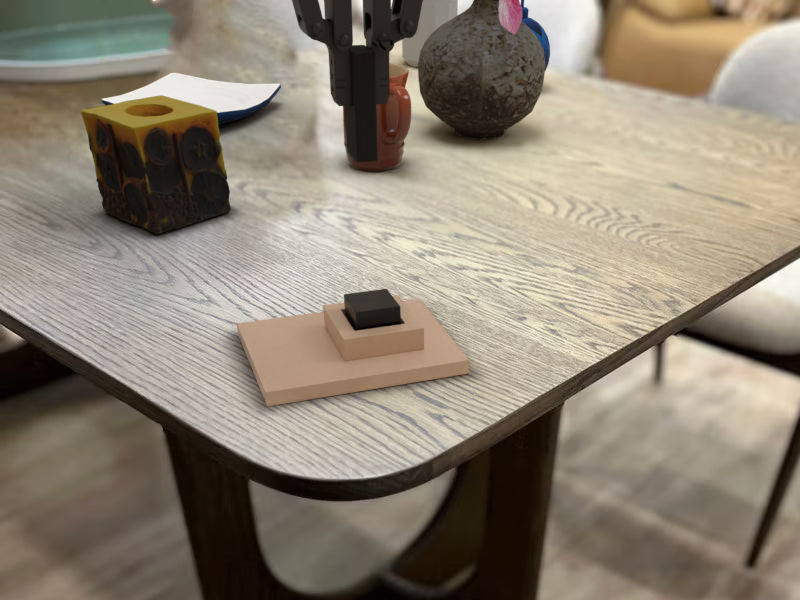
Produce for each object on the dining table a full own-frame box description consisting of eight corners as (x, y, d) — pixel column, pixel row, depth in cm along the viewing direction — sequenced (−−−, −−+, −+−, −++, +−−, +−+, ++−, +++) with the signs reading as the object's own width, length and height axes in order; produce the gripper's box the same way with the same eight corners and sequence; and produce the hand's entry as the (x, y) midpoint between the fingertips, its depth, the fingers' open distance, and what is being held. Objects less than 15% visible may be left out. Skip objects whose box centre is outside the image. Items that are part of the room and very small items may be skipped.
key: (357, 334, 65) (355, 312, 64) (344, 315, 68) (343, 293, 67) (401, 327, 66) (400, 306, 65) (387, 309, 69) (386, 288, 68)
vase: (479, 111, 126) (489, -158, 106) (569, 136, 117) (599, -153, 97) (395, 131, 117) (389, -159, 97) (485, 159, 108) (500, -154, 88)
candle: (156, 237, 86) (133, 129, 79) (100, 213, 91) (74, 109, 84) (235, 212, 92) (220, 109, 85) (179, 191, 97) (160, 92, 90)
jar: (407, 70, 146) (405, -62, 133) (398, 58, 153) (395, -68, 140) (462, 68, 147) (465, -62, 135) (450, 57, 154) (453, -68, 142)
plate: (224, 137, 113) (221, 115, 111) (95, 121, 118) (89, 100, 116) (292, 103, 127) (290, 82, 126) (174, 90, 132) (170, 70, 130)
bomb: (470, 89, 136) (474, -25, 126) (511, 79, 142) (518, -32, 132) (518, 100, 131) (525, -18, 121) (558, 89, 137) (569, -25, 127)
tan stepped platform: (267, 406, 62) (261, 369, 60) (238, 336, 70) (233, 302, 68) (468, 373, 66) (470, 337, 64) (419, 311, 74) (419, 278, 72)
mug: (327, 160, 106) (320, 66, 99) (386, 150, 110) (383, 59, 103) (376, 186, 99) (373, 87, 92) (437, 175, 103) (438, 78, 96)
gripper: (233, -359, 40) (282, 177, 56) (487, -331, 43) (465, 165, 59) (210, -339, 45) (261, 147, 61) (439, -315, 49) (431, 137, 64)
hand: (362, 155), depth 60 cm, fingers closed
